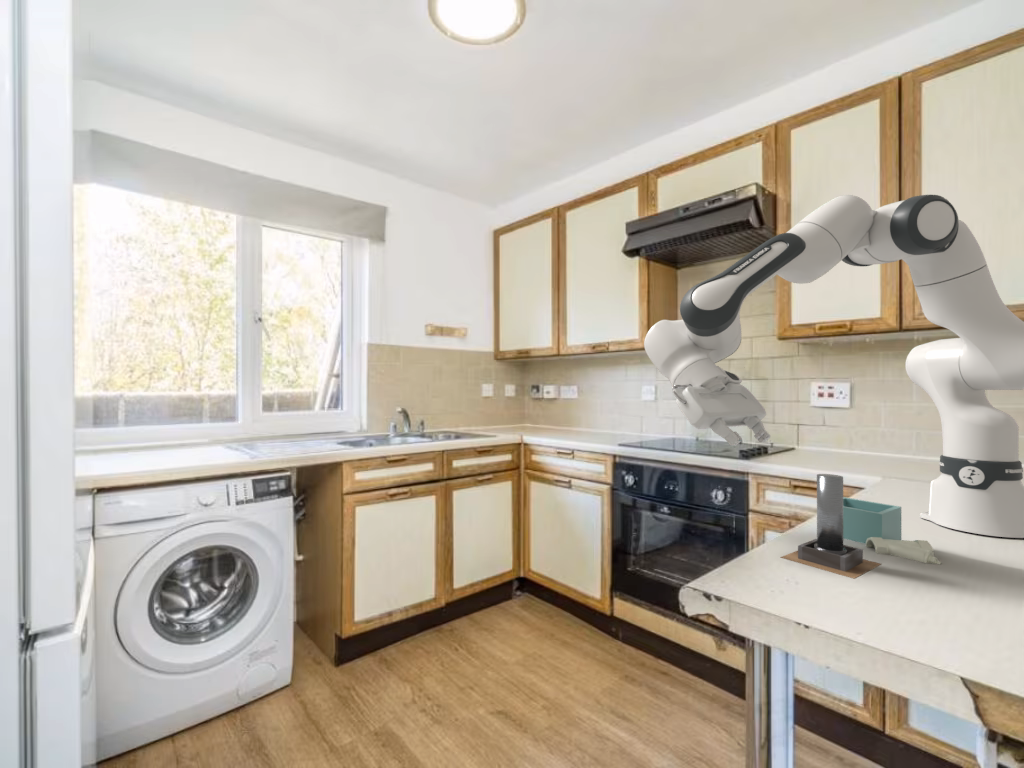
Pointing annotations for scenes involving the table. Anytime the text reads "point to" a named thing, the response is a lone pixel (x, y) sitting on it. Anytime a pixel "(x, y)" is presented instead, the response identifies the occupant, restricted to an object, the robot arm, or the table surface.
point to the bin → (870, 520)
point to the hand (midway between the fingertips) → (752, 441)
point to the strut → (830, 514)
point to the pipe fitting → (904, 549)
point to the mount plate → (832, 560)
